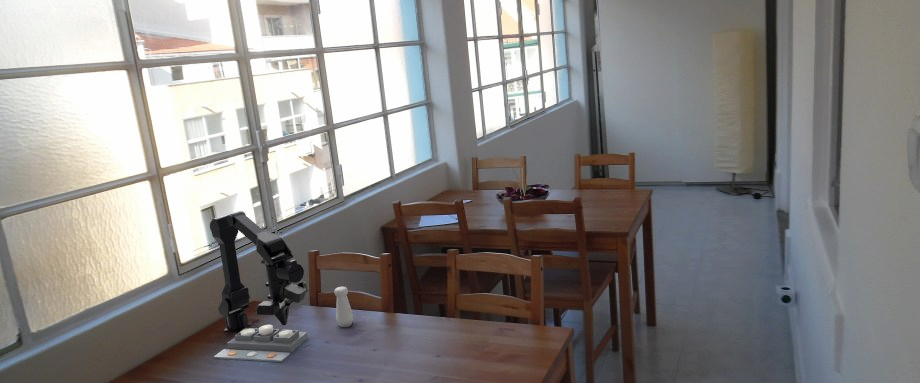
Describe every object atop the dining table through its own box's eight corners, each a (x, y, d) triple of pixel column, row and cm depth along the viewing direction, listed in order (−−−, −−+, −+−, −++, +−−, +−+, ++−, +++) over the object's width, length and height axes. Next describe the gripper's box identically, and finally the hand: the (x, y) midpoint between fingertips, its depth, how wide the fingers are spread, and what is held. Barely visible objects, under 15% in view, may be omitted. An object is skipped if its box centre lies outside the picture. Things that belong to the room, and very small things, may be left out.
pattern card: (214, 358, 213) (213, 355, 213) (224, 350, 218) (223, 348, 218) (281, 362, 206) (281, 359, 206) (290, 354, 211) (290, 352, 211)
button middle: (256, 335, 218) (255, 330, 218) (264, 329, 222) (263, 324, 222) (268, 336, 217) (267, 330, 217) (276, 330, 221) (275, 324, 221)
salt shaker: (350, 328, 226) (345, 291, 223) (334, 328, 227) (329, 291, 224) (356, 321, 231) (351, 284, 229) (340, 321, 233) (335, 284, 230)
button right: (276, 341, 216) (275, 335, 216) (284, 335, 221) (283, 329, 220) (288, 341, 215) (288, 336, 215) (296, 335, 219) (295, 330, 219)
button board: (228, 348, 219) (226, 338, 219) (246, 335, 229) (244, 325, 228) (291, 352, 212) (289, 341, 211) (307, 338, 222) (306, 327, 221)
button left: (238, 339, 221) (237, 334, 220) (246, 333, 225) (245, 328, 224) (250, 339, 219) (249, 334, 219) (258, 333, 224) (257, 328, 223)
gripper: (283, 289, 202) (291, 338, 206) (314, 267, 220) (321, 313, 223) (251, 288, 206) (259, 337, 209) (284, 267, 223) (291, 312, 226)
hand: (284, 324), depth 217 cm, fingers closed
